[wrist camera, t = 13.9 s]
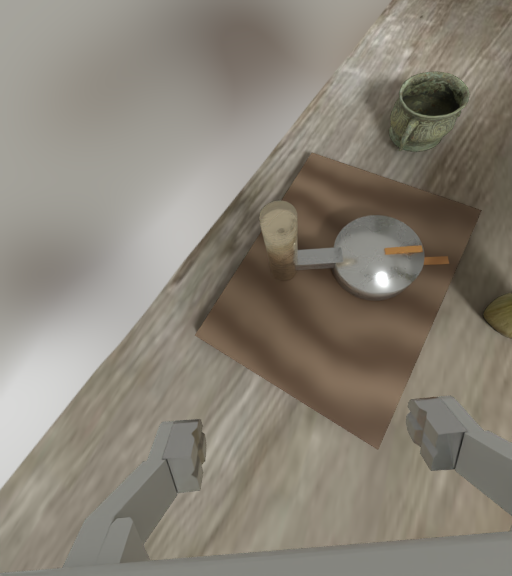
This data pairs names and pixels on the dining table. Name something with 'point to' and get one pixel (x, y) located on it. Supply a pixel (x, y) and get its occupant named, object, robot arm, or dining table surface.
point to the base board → (340, 300)
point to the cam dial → (347, 252)
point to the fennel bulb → (500, 315)
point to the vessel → (427, 110)
